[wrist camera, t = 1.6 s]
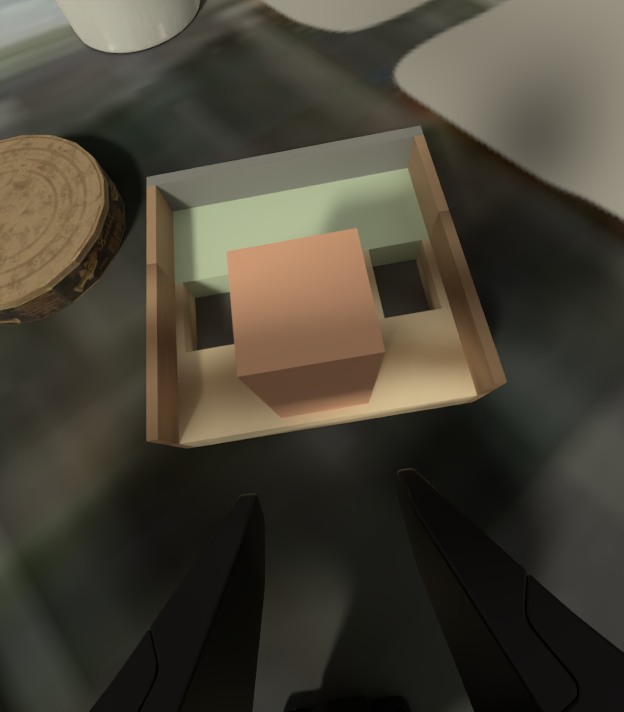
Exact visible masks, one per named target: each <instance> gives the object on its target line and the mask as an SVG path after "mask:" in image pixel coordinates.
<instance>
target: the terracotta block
mask: <svg viewBox="0 0 624 712" xmlns="http://www.w3.org/2000/svg"><path fill="white" fill-rule="evenodd" d="M227 263H228V275H229V287H230V299H231V311H232V322H233V334H234V346H235V358H236V370H237V377H238V378H239V379H240V380H241V381H242V382H243V383H244V384H245V385H246V386H247V387H248V388H250V389H251V390H252V391H253V392H254V393H255V394H256V395H257V396H258V397H259V398H260V399H261V400H262V401H264V402H265V403H266V404H267V405H268V406H269V407H270V408H271V409H272V410H273V411H274V412H275V413H276V414H278V415H279V416H280V417H281V418H285V417H292V416H298V415H304V414H310V413H316V412H322V411H328V410H334V409H340V408H346V407H352V406H358V405H365V404H368V403H369V400H370V397H371V394H372V391H373V388H374V385H375V382H376V379H377V376H378V373H379V370H380V367H381V364H382V361H383V357H384V354H385V348H384V344H383V340H382V335H381V331H380V327H379V322H378V318H377V314H376V309H375V305H374V300H373V296H372V292H371V287H370V283H369V279H368V274H367V270H366V266H365V261H364V257H363V253H362V248H361V244H360V239H359V235H358V231H357V228H354V229H348V230H343V231H337V232H332V233H326V234H320V235H315V236H309V237H304V238H298V239H293V240H287V241H282V242H276V243H271V244H265V245H260V246H254V247H249V248H243V249H237V250H232V251H227Z"/></svg>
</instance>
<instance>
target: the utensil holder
mask: <svg viewBox="0 0 624 712" xmlns="http://www.w3.org/2000/svg"><path fill="white" fill-rule="evenodd" d="M55 1H56V3H57V4H58V6H59V7H60V9H61V10H62V12H63V14H64V15H65V17H66V18H67V20H68V21H69V23H70V24H71V26H72V27H73V29H74V31H75V32H76V34H77V35H78V36H79V38H80V39H81V40H82V41H83V42H84V43H85V44H87V45H88V46H90V47H92V48H94V49H97V50H100V51H104V52H110V53H130V52H136V51H141V50H145V49H148V48H151V47H154V46H157V45H159V44H161V43H163V42H165V41H167V40H169V39H171V38H173V37H174V36H176V35H177V34H178V33H180V32H181V31H182V30H183V29H185V28H186V27H187V26H188V25H189V24H190V22H191V21H192V20H193V19H194V17H195V15H196V13H197V11H198V9H199V5H200V0H55Z"/></svg>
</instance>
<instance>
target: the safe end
mask: <svg viewBox="0 0 624 712" xmlns="http://www.w3.org/2000/svg"><path fill="white" fill-rule="evenodd" d="M447 210H449V209H448V206H447V203H446V200H445V197H444V194H443V191H442V188H441V185H440V182H439V179H438V176H437V173H436V170H435V167H434V164H433V161H432V158H431V155H430V153H429V150H428V147H427V144H426V141H425V138H424V135H423V132H422V129H421V126H415V127H410V128H405V129H400V130H394V131H389V132H384V133H378V134H373V135H368V136H363V137H357V138H352V139H347V140H341V141H336V142H331V143H325V144H320V145H315V146H310V147H304V148H299V149H294V150H288V151H283V152H278V153H272V154H267V155H262V156H257V157H251V158H246V159H241V160H235V161H230V162H225V163H220V164H214V165H209V166H204V167H198V168H193V169H188V170H182V171H177V172H172V173H167V174H161V175H156V176H151V177H147V265H148V264H153V263H157V264H158V265H159V267H160V268H161V269H162V270H163V271H164V272H165V273H166V274H167V276H168V277H169V278H170V279H171V280H172V281H173V282H174V284H177V283H183V284H184V285H185V287H186V288H187V289H188V290H189V291H190V293H191V294H192V295H193V296H194V297H195V298H199V297H204V296H210V295H216V294H221V293H227V292H230V287H229V275H228V263H227V251H232V250H237V249H243V248H249V247H254V246H260V245H265V244H271V243H276V242H282V241H287V240H293V239H298V238H304V237H309V236H315V235H320V234H326V233H332V232H337V231H343V230H348V229H354V228H357V231H358V235H359V239H360V244H361V248H362V250H369V255H370V259H371V263H372V267H374V266H380V265H385V264H391V263H397V262H402V261H408V260H414V259H416V256H417V252H418V249H419V246H420V243H421V240H424V239H429V238H430V235H431V232H432V229H433V227H434V224H435V221H436V218H437V215H438V213H439V212H441V211H447Z"/></svg>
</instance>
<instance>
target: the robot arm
mask: <svg viewBox="0 0 624 712" xmlns="http://www.w3.org/2000/svg"><path fill="white" fill-rule="evenodd" d="M397 484H398V495H399V501H400V505H401V508H402V512H403V516H404V520H405V523H406V527H407V531H408V534H409V538H410V542H411V546H412V549H413V553H414V556H415V560H416V563H417V566H418V569H419V571H420V574H421V577H422V579H423V582H424V584H425V587H426V589H427V592H428V595H429V597H430V600H431V602H432V605H433V607H434V610H435V612H436V615H437V618H438V620H439V623H440V625H441V628H442V630H443V633H444V636H445V638H446V641H447V643H448V646H449V648H450V651H451V653H452V656H453V659H454V661H455V664H456V666H457V669H458V671H459V674H460V676H461V679H462V682H463V684H464V687H465V689H466V692H467V694H468V697H469V699H470V702H471V705H472V707H473V710H474V712H624V652H622V651H621V650H620V649H619V648H617V647H616V646H615V645H613V644H612V643H611V642H610V641H608V640H607V639H606V638H604V637H603V636H602V635H601V634H599V633H598V632H597V631H596V630H594V629H593V628H592V627H591V626H589V625H588V624H587V623H586V622H584V621H583V620H582V619H581V618H579V617H578V616H577V615H576V614H574V613H573V612H572V611H571V610H570V609H569V608H567V607H566V606H565V605H564V604H563V603H562V602H561V601H559V600H558V599H557V598H556V597H555V596H554V595H552V594H551V593H550V592H549V591H548V590H547V589H546V588H545V587H543V586H542V585H541V584H540V583H539V582H538V581H537V580H536V579H535V578H534V577H533V576H531V575H528V576H527V571H526V570H525V569H524V568H522V567H521V566H520V565H519V564H518V563H517V562H516V561H515V560H514V559H513V558H511V557H510V556H509V555H508V554H507V553H506V552H505V551H504V550H503V549H502V548H500V547H499V546H498V545H497V544H496V543H495V542H494V541H493V540H492V539H491V538H489V537H488V536H487V535H486V534H485V533H484V532H483V531H482V530H481V529H480V528H478V527H477V526H476V525H475V524H474V523H473V522H472V521H471V520H470V519H469V518H467V517H466V516H465V515H464V514H463V513H462V512H461V511H460V510H459V509H458V508H456V507H455V506H454V505H453V504H452V503H451V502H450V501H449V500H448V499H447V498H445V497H444V496H443V495H442V494H441V493H440V492H439V491H438V490H437V489H436V488H434V487H433V486H432V485H431V484H430V483H429V482H428V481H427V480H426V479H425V478H423V477H422V476H421V475H420V474H419V473H418V472H417V471H416V470H415V469H413V468H408V469H402V470H398V471H397ZM264 588H265V523H264V515H263V512H262V509H261V506H260V503H259V500H258V497H257V495H256V494H255V493H250V494H244V495H240V496H239V497H238V499H237V500H236V501H235V503H234V504H233V506H232V507H231V509H230V510H229V512H228V513H227V515H226V516H225V518H224V519H223V521H222V522H221V524H220V525H219V527H218V528H217V529H216V531H215V532H214V534H213V535H212V537H211V538H210V540H209V541H208V543H207V544H206V546H205V547H204V549H203V550H202V552H201V553H200V555H199V556H198V557H197V559H196V560H195V562H194V563H193V565H192V566H191V568H190V569H189V571H188V572H187V574H186V575H185V577H184V578H183V580H182V581H181V583H180V584H179V586H178V587H177V588H176V590H175V591H174V593H173V594H172V596H171V597H170V599H169V600H168V602H167V603H166V605H165V606H164V608H163V609H162V611H161V612H160V614H159V615H158V616H157V618H156V619H155V621H154V622H153V624H152V625H151V627H150V630H151V631H147V632H146V634H145V635H144V637H143V638H142V640H141V641H140V643H139V644H138V646H137V647H136V649H135V650H134V652H133V653H132V654H131V656H130V657H129V659H128V660H127V661H126V663H125V664H124V666H123V667H122V668H121V670H120V671H119V673H118V674H117V676H116V677H115V678H114V680H113V681H112V682H111V684H110V685H109V686H108V688H107V689H106V690H105V692H104V693H103V694H102V695H101V697H100V698H99V699H98V701H97V702H96V703H95V705H94V706H93V707H92V709H91V710H90V711H89V712H252V709H253V699H254V689H255V679H256V669H257V660H258V650H259V640H260V630H261V620H262V610H263V600H264ZM398 707H402V708H403V709H405V712H411V710H410V707H409V704H408V702H407V701H406V699H405V698H403V697H401V696H394V697H387V698H380V699H372V700H369V699H368V698H367V697H366V696H358V697H351V698H343V699H336V700H329V701H321V702H317V704H316V705H315V707H314V708H307V709H299V710H292V711H287V712H395V711H396V709H397V708H398Z"/></svg>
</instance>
